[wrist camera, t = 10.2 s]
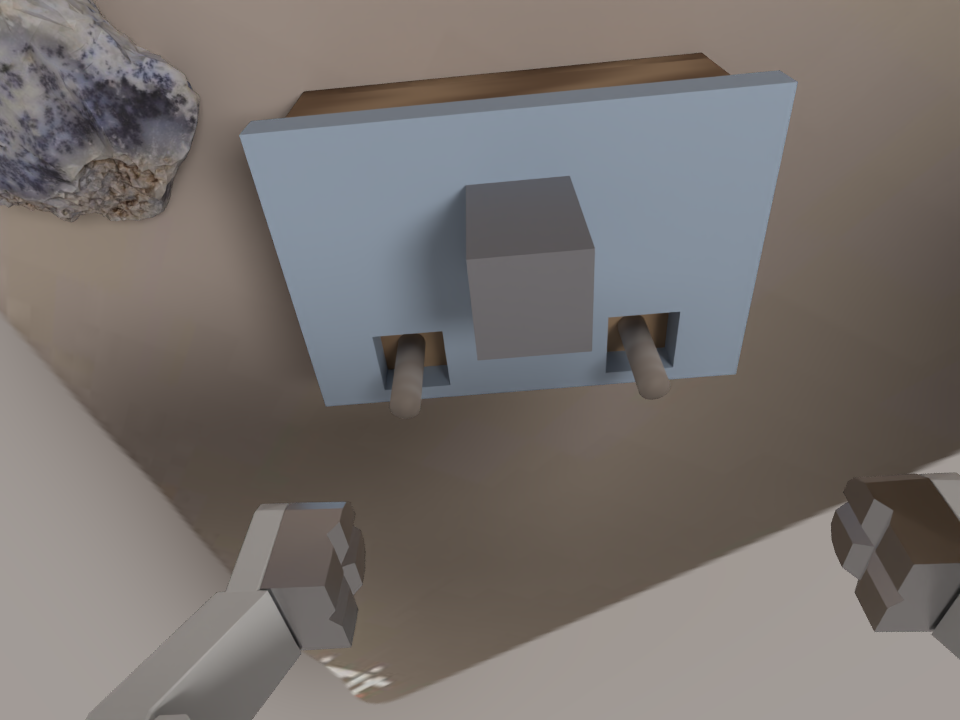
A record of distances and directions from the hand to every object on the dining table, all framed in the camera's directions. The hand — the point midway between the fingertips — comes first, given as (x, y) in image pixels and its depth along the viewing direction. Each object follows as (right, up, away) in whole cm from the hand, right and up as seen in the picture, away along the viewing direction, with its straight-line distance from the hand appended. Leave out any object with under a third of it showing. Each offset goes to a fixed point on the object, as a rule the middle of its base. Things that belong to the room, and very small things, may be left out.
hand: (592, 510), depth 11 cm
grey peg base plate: (-1, +6, +10) cm, 12 cm away
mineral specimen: (-16, +13, +11) cm, 23 cm away
